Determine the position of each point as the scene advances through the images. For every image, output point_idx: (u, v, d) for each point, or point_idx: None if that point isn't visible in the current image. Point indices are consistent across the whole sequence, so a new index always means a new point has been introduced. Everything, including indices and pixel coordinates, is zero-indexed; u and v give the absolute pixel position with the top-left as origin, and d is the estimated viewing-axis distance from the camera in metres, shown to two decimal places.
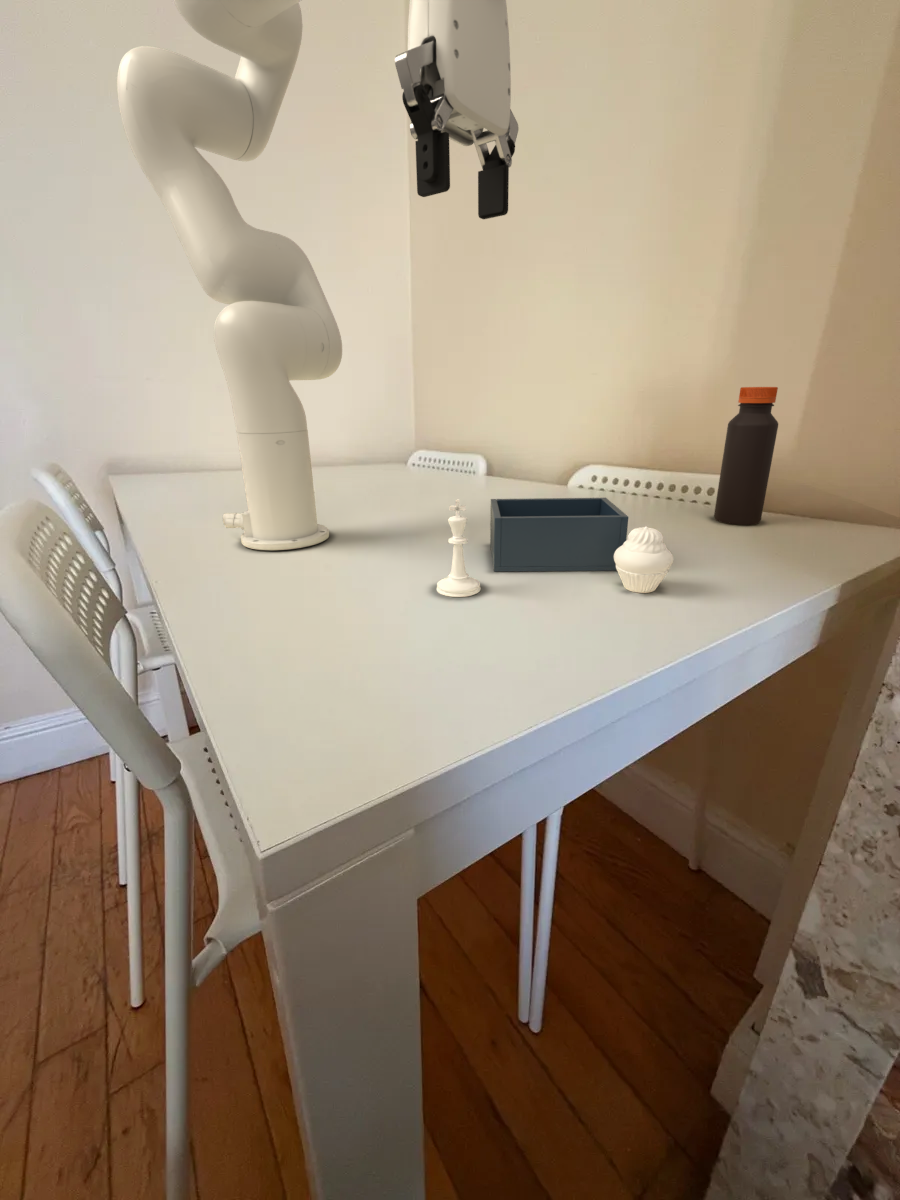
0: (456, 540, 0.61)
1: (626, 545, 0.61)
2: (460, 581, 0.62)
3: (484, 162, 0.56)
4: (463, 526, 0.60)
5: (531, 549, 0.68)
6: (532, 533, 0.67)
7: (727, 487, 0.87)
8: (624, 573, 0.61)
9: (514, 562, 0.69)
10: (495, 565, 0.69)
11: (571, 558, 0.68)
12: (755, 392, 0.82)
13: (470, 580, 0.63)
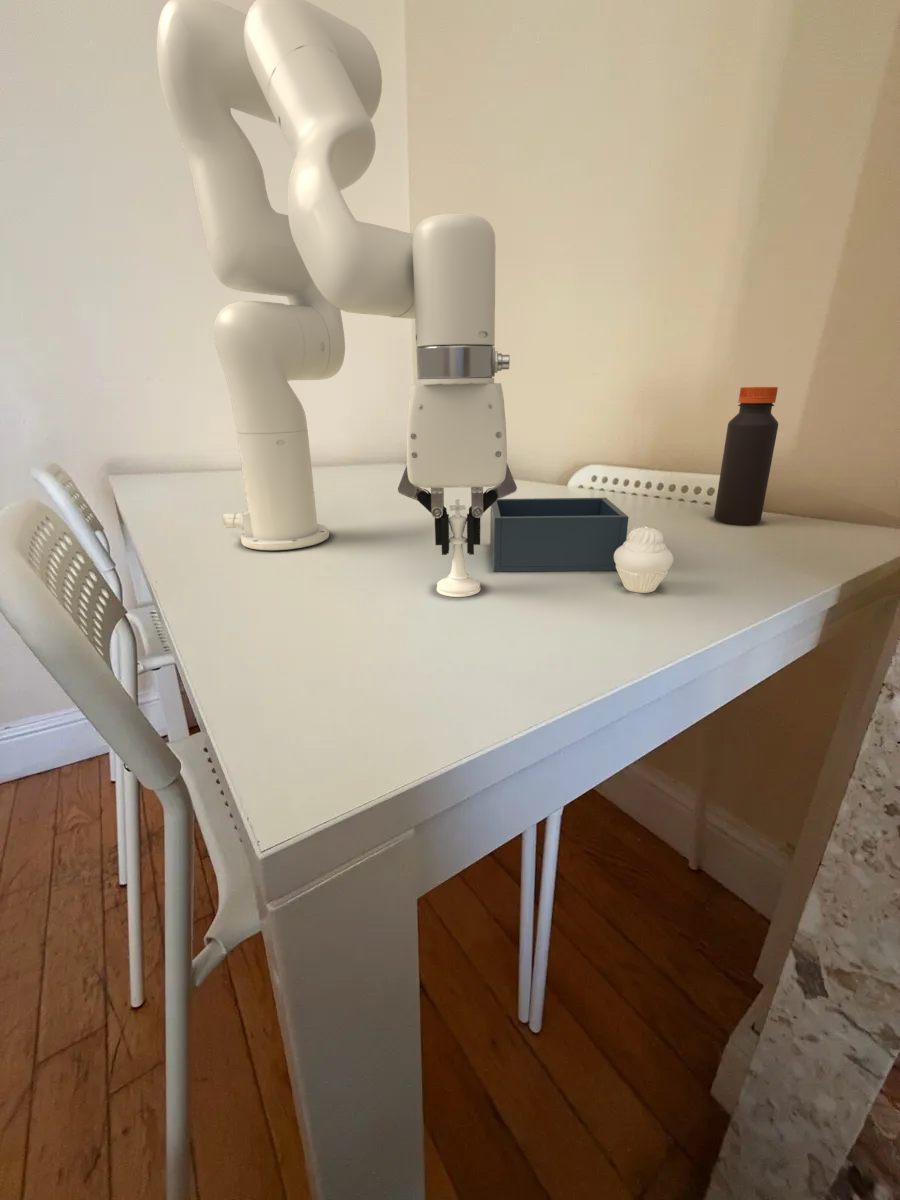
0: (456, 540, 0.61)
1: (626, 545, 0.61)
2: (460, 581, 0.62)
3: (471, 502, 0.61)
4: (463, 526, 0.60)
5: (531, 549, 0.68)
6: (532, 533, 0.67)
7: (727, 487, 0.87)
8: (624, 573, 0.61)
9: (514, 562, 0.69)
10: (495, 565, 0.69)
11: (571, 558, 0.68)
12: (755, 392, 0.82)
13: (470, 580, 0.63)
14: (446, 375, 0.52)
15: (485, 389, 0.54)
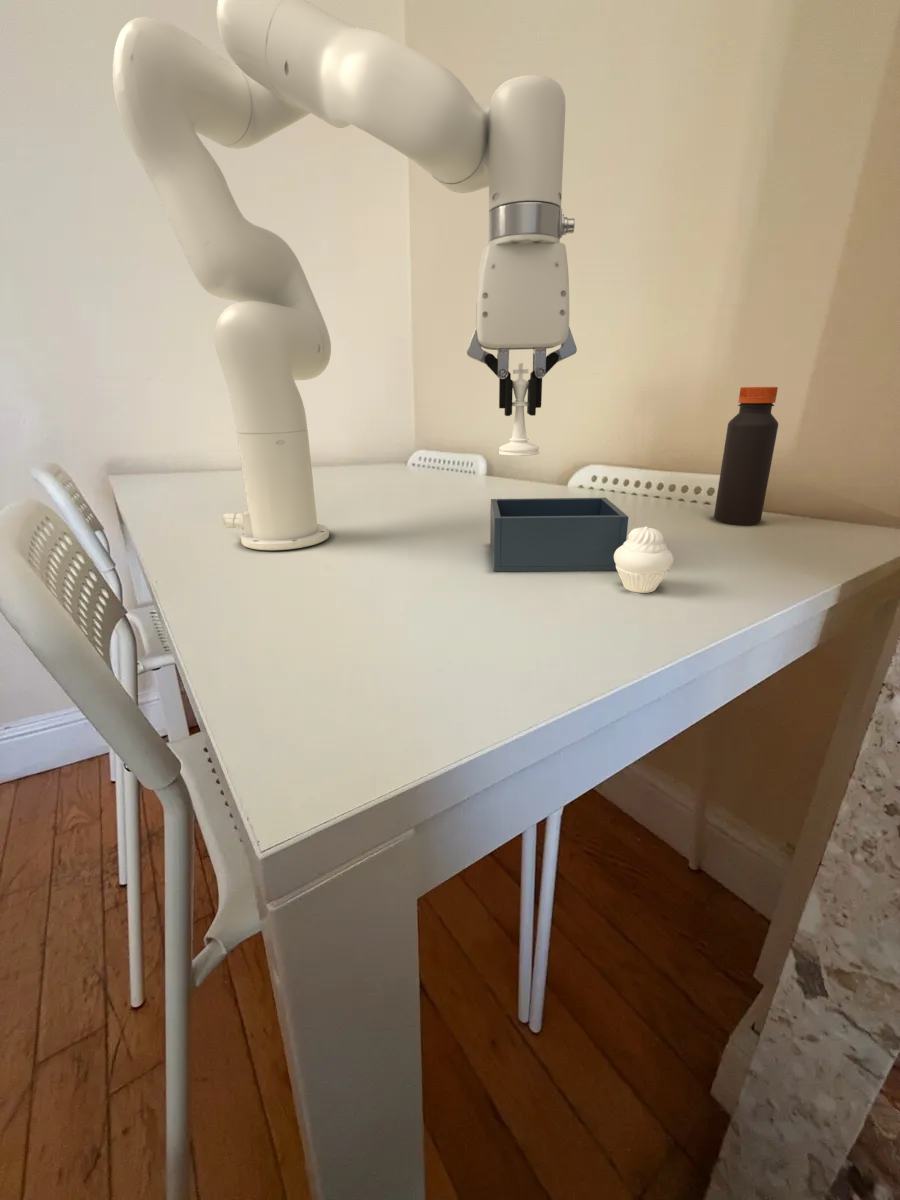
0: (519, 402, 0.66)
1: (626, 545, 0.61)
2: (522, 443, 0.67)
3: None
4: (526, 388, 0.65)
5: (531, 549, 0.68)
6: (532, 533, 0.67)
7: (727, 487, 0.87)
8: (624, 573, 0.61)
9: (514, 562, 0.69)
10: (495, 565, 0.69)
11: (571, 558, 0.68)
12: (755, 392, 0.82)
13: (530, 443, 0.68)
14: (519, 231, 0.57)
15: (553, 248, 0.59)
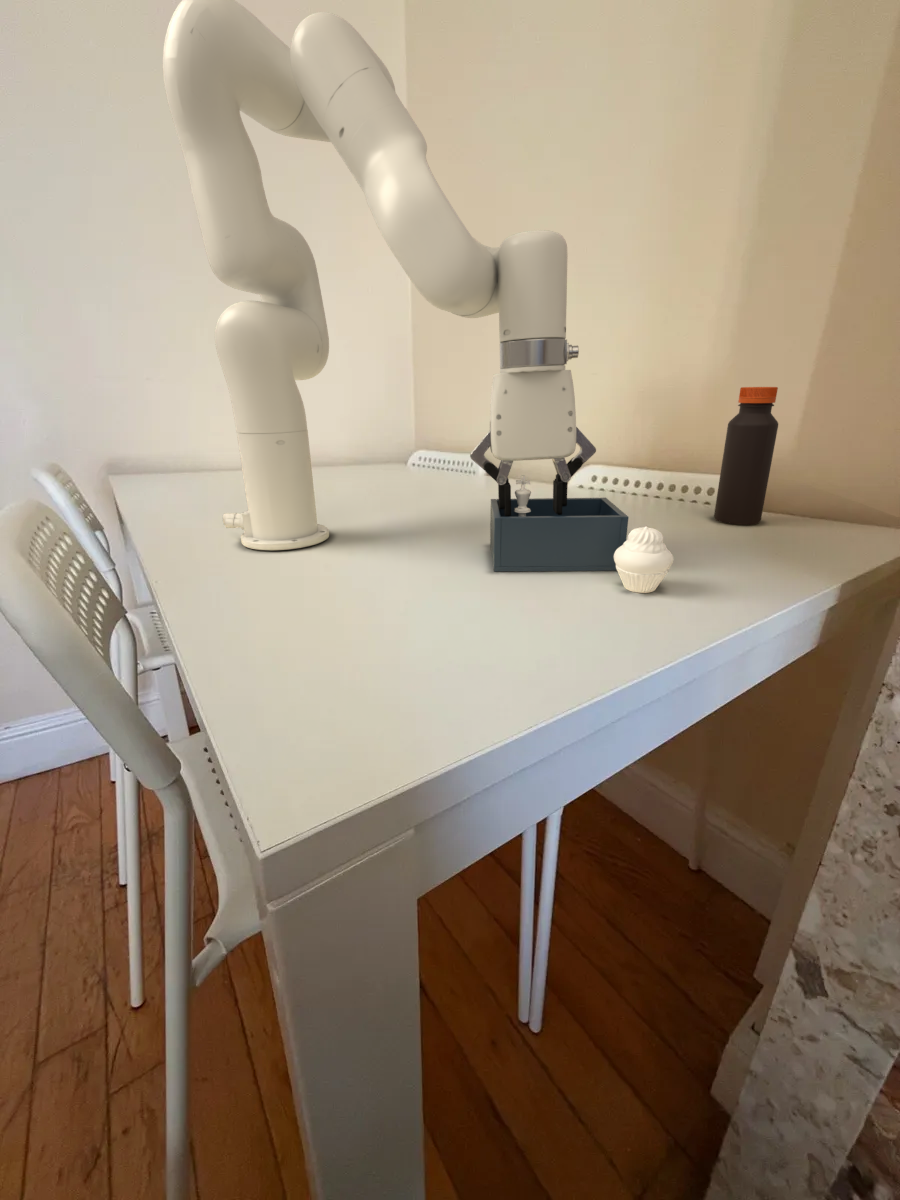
0: (521, 510, 0.71)
1: (626, 545, 0.61)
2: None
3: None
4: (528, 498, 0.71)
5: (531, 549, 0.68)
6: (532, 533, 0.67)
7: (727, 487, 0.87)
8: (624, 573, 0.61)
9: (514, 562, 0.69)
10: (495, 565, 0.69)
11: (571, 558, 0.68)
12: (755, 392, 0.82)
13: None
14: (529, 364, 0.62)
15: (559, 375, 0.64)
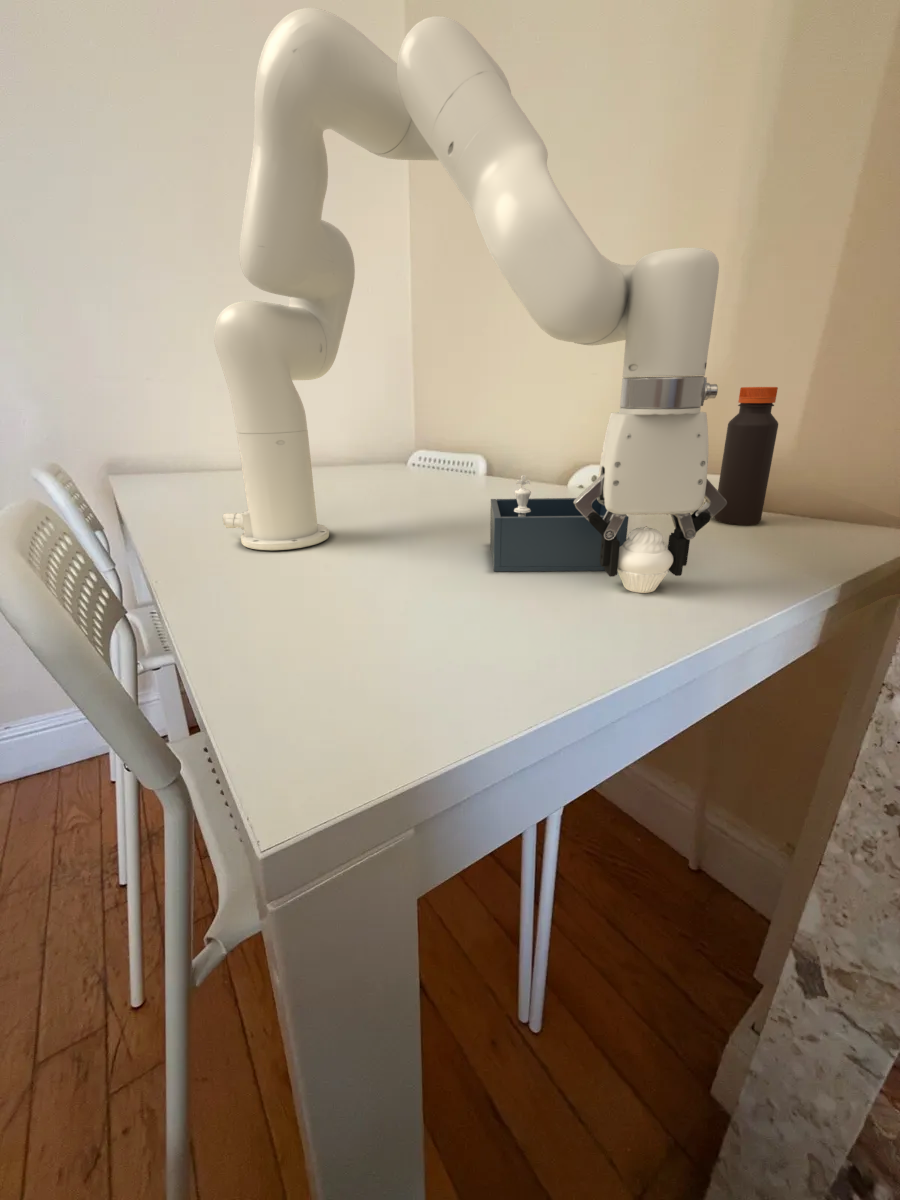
0: (521, 510, 0.71)
1: (626, 545, 0.61)
2: None
3: (675, 526, 0.61)
4: (527, 498, 0.71)
5: (531, 549, 0.68)
6: (532, 533, 0.67)
7: (727, 487, 0.87)
8: (624, 573, 0.61)
9: (514, 562, 0.69)
10: (495, 565, 0.69)
11: (571, 558, 0.68)
12: (755, 392, 0.82)
13: None
14: (663, 406, 0.52)
15: (695, 419, 0.54)
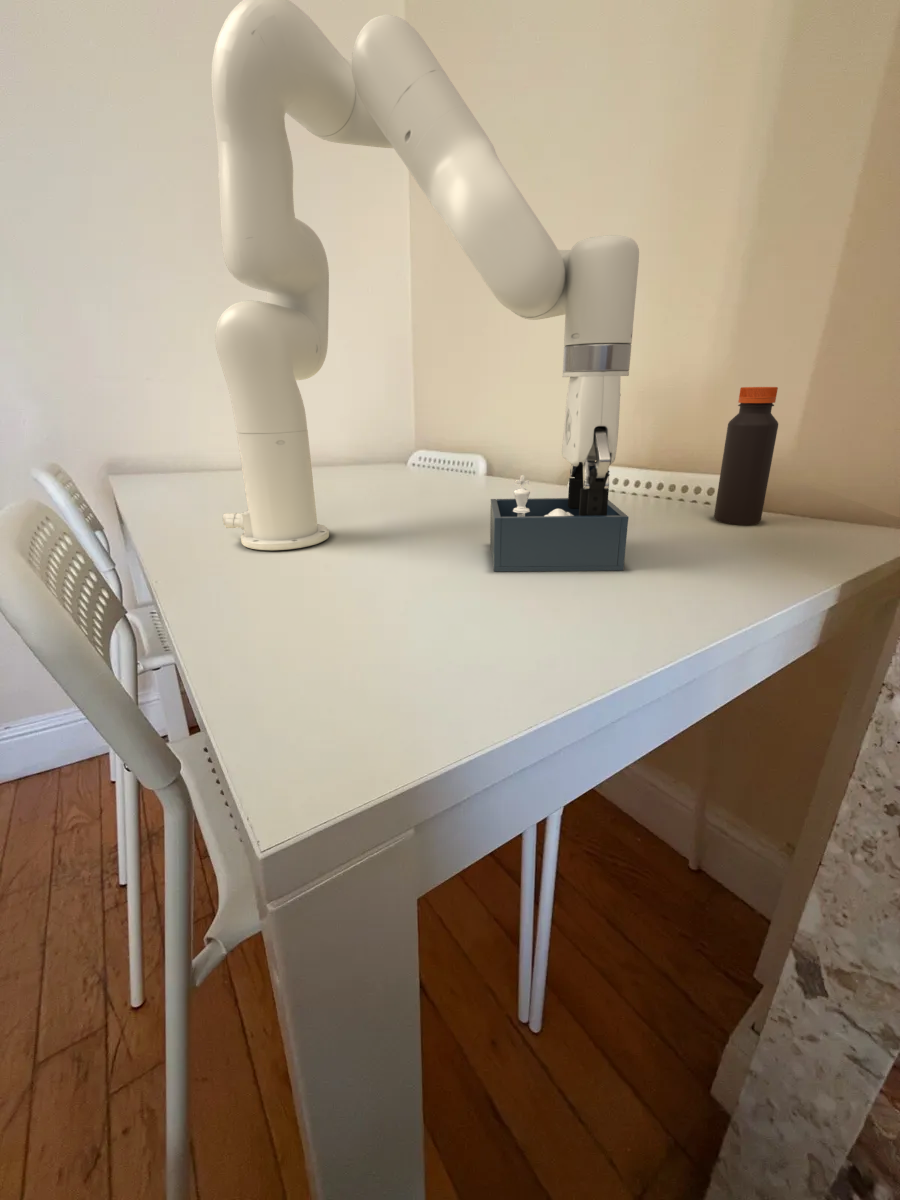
0: (520, 510, 0.71)
1: None
2: None
3: (575, 472, 0.74)
4: (527, 498, 0.71)
5: (531, 549, 0.68)
6: (532, 533, 0.67)
7: (727, 487, 0.87)
8: None
9: (514, 562, 0.69)
10: (495, 565, 0.69)
11: (571, 558, 0.68)
12: (755, 392, 0.82)
13: None
14: None
15: None
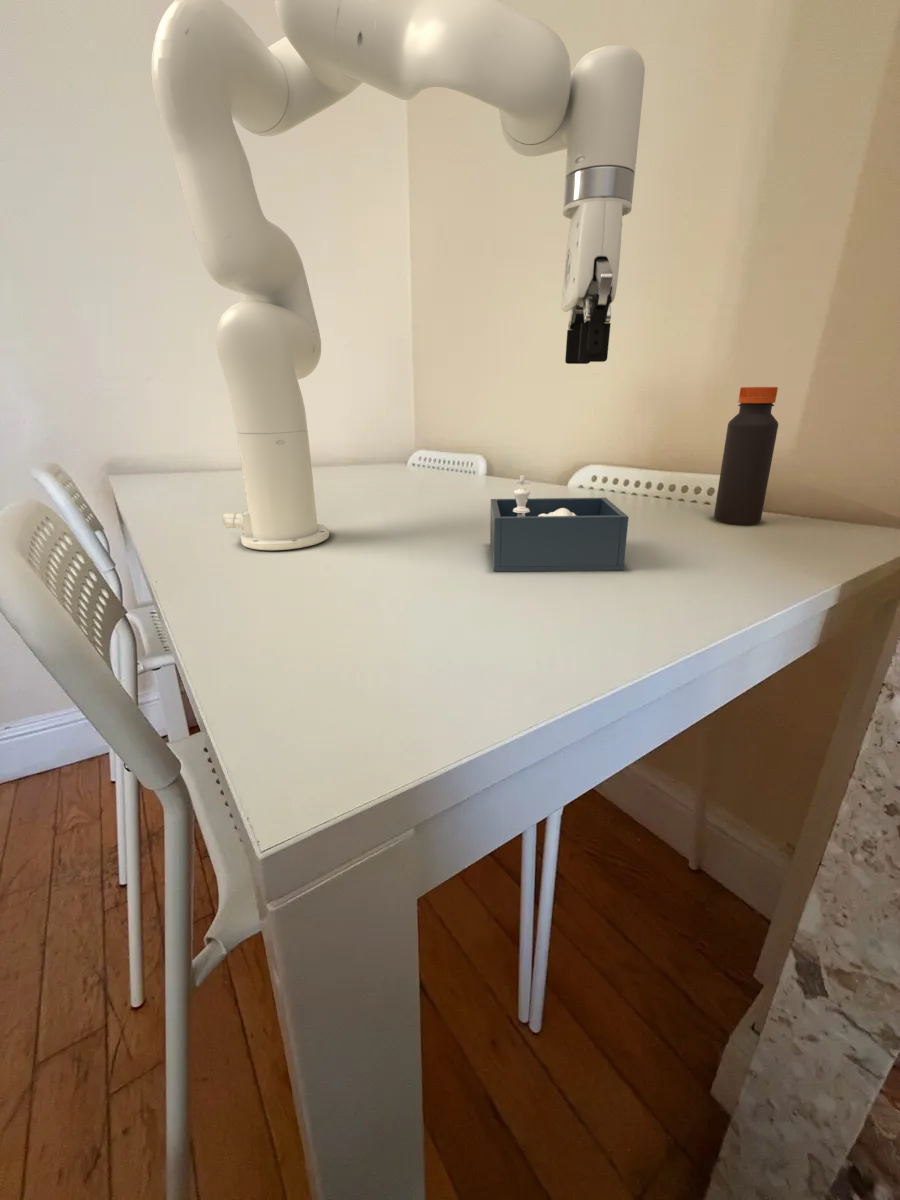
0: (520, 510, 0.71)
1: None
2: None
3: (573, 324, 0.73)
4: (527, 498, 0.71)
5: (531, 549, 0.68)
6: (532, 533, 0.67)
7: (727, 487, 0.87)
8: None
9: (514, 562, 0.69)
10: (495, 565, 0.69)
11: (571, 558, 0.68)
12: (755, 392, 0.82)
13: None
14: (631, 202, 0.63)
15: None
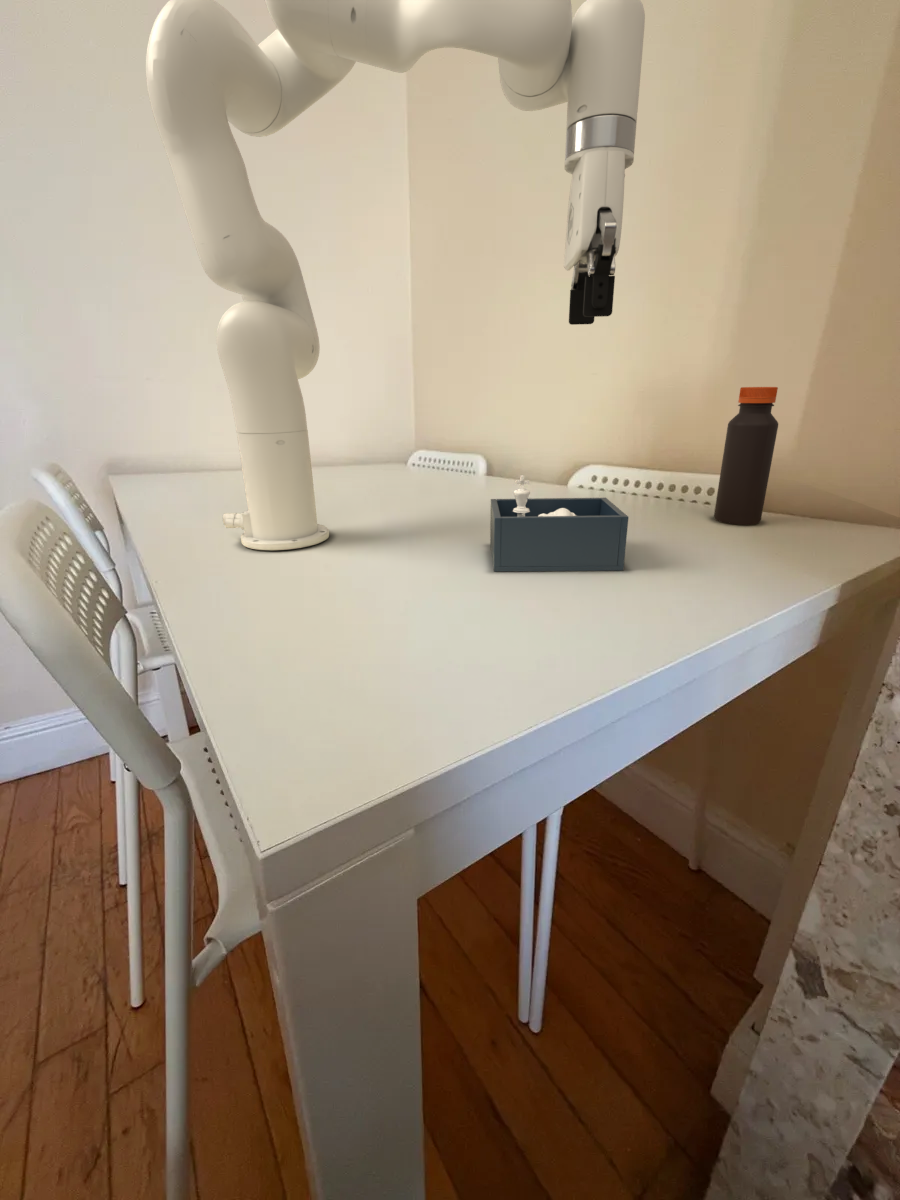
0: (520, 510, 0.71)
1: None
2: None
3: (576, 283, 0.72)
4: (526, 498, 0.71)
5: (531, 549, 0.68)
6: (532, 533, 0.67)
7: (727, 487, 0.87)
8: None
9: (514, 562, 0.69)
10: (495, 565, 0.69)
11: (571, 558, 0.68)
12: (755, 392, 0.82)
13: None
14: None
15: None
